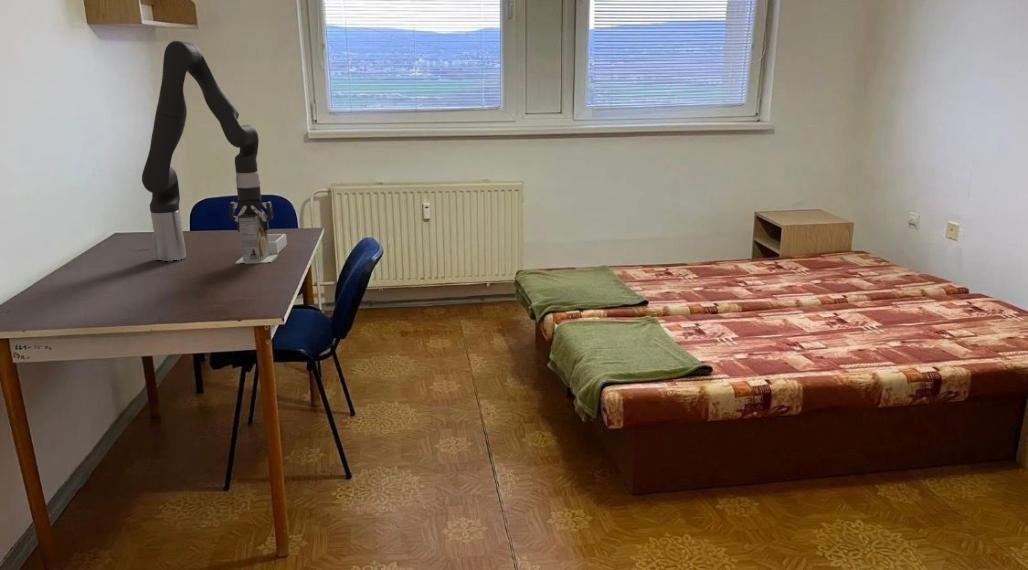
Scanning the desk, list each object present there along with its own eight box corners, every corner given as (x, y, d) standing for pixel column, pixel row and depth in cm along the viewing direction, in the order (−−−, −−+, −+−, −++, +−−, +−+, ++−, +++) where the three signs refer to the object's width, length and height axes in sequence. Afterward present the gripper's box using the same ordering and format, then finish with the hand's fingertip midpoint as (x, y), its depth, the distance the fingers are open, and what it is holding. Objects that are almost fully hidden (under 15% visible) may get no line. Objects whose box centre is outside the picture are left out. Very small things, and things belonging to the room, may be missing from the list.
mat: (235, 263, 251) (235, 262, 251) (244, 256, 261) (244, 255, 260) (270, 262, 252) (270, 261, 251) (278, 255, 261) (278, 254, 261)
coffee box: (252, 255, 260) (246, 211, 256) (270, 255, 260) (265, 210, 256) (242, 261, 252) (237, 216, 247) (261, 261, 252) (255, 215, 247)
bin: (248, 255, 263) (246, 242, 261) (258, 246, 276) (257, 234, 274) (277, 254, 263) (276, 242, 262) (287, 245, 276) (285, 233, 275)
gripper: (223, 187, 245) (228, 234, 249) (266, 186, 245) (271, 233, 250) (230, 183, 252) (235, 229, 256) (272, 183, 252) (276, 229, 257)
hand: (253, 231), depth 253 cm, fingers open, 8 cm apart
